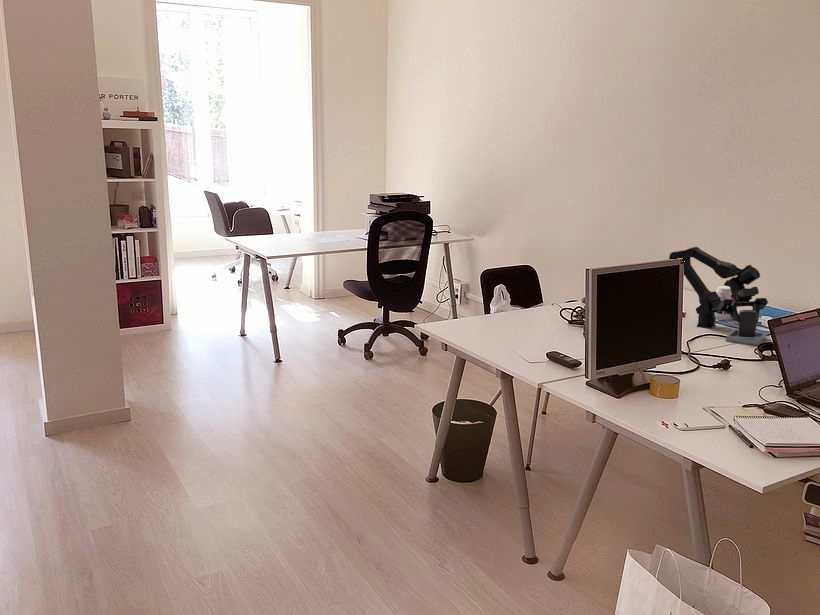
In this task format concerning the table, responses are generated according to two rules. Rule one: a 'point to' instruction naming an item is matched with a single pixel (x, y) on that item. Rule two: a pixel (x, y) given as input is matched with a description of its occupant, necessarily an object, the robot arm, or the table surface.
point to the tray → (745, 338)
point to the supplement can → (723, 293)
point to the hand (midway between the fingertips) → (748, 321)
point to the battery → (747, 323)
